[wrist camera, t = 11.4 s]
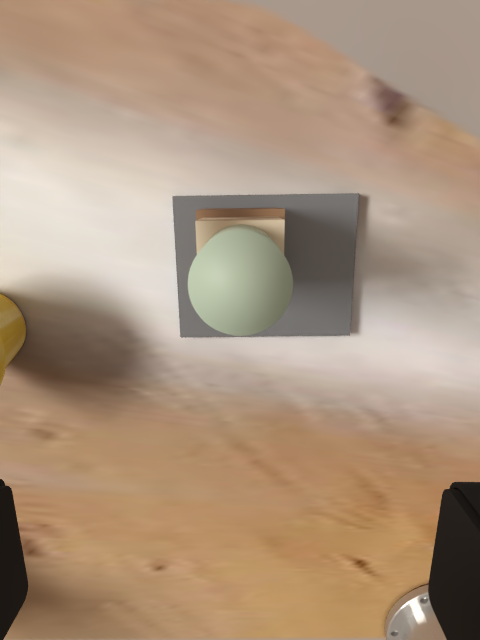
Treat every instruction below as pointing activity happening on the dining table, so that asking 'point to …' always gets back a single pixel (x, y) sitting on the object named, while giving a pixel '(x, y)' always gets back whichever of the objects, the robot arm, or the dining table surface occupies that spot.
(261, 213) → the tower base
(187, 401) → the dining table surface
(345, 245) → the slate board
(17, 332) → the plant pot
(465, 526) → the robot arm
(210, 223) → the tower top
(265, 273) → the pale green rounded piece
